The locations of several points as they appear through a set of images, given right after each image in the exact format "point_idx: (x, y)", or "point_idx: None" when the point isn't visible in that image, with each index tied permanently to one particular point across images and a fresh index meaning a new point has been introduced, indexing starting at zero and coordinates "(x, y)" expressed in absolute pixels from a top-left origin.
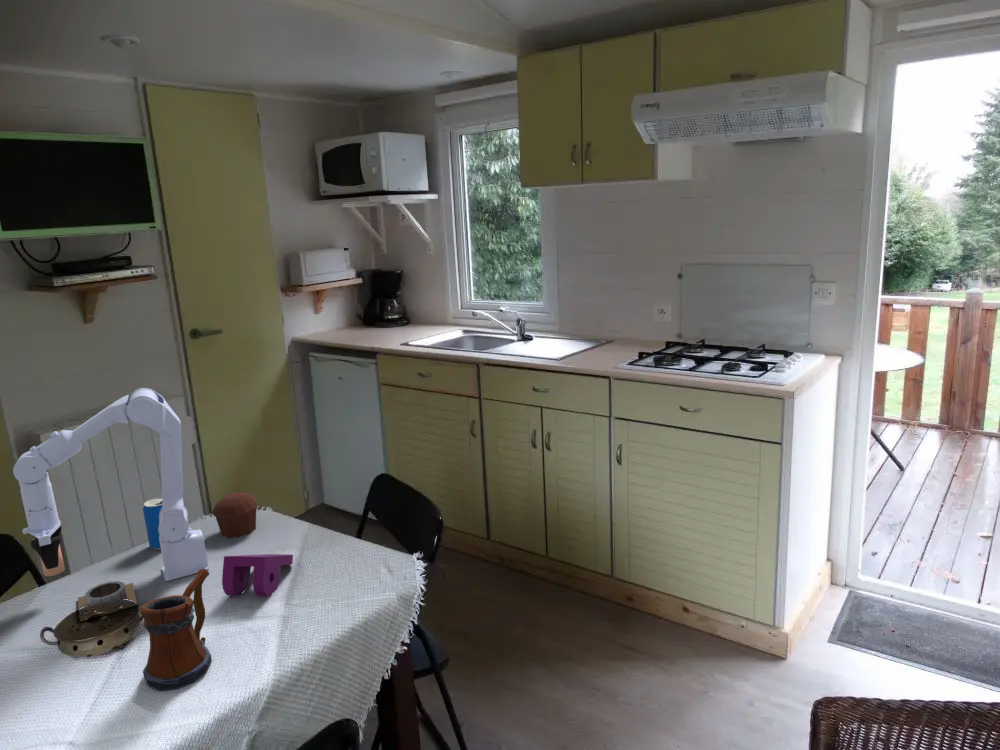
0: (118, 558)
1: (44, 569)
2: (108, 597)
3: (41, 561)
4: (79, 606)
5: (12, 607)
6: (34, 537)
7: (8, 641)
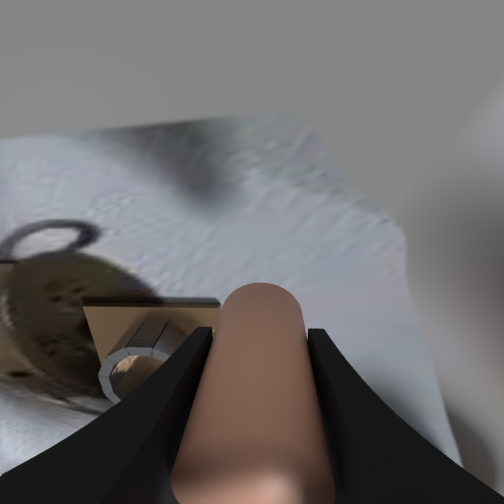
0: (431, 395)
1: (231, 308)
2: (103, 388)
3: (234, 332)
4: (161, 310)
5: (300, 122)
6: (376, 495)
7: (51, 134)
